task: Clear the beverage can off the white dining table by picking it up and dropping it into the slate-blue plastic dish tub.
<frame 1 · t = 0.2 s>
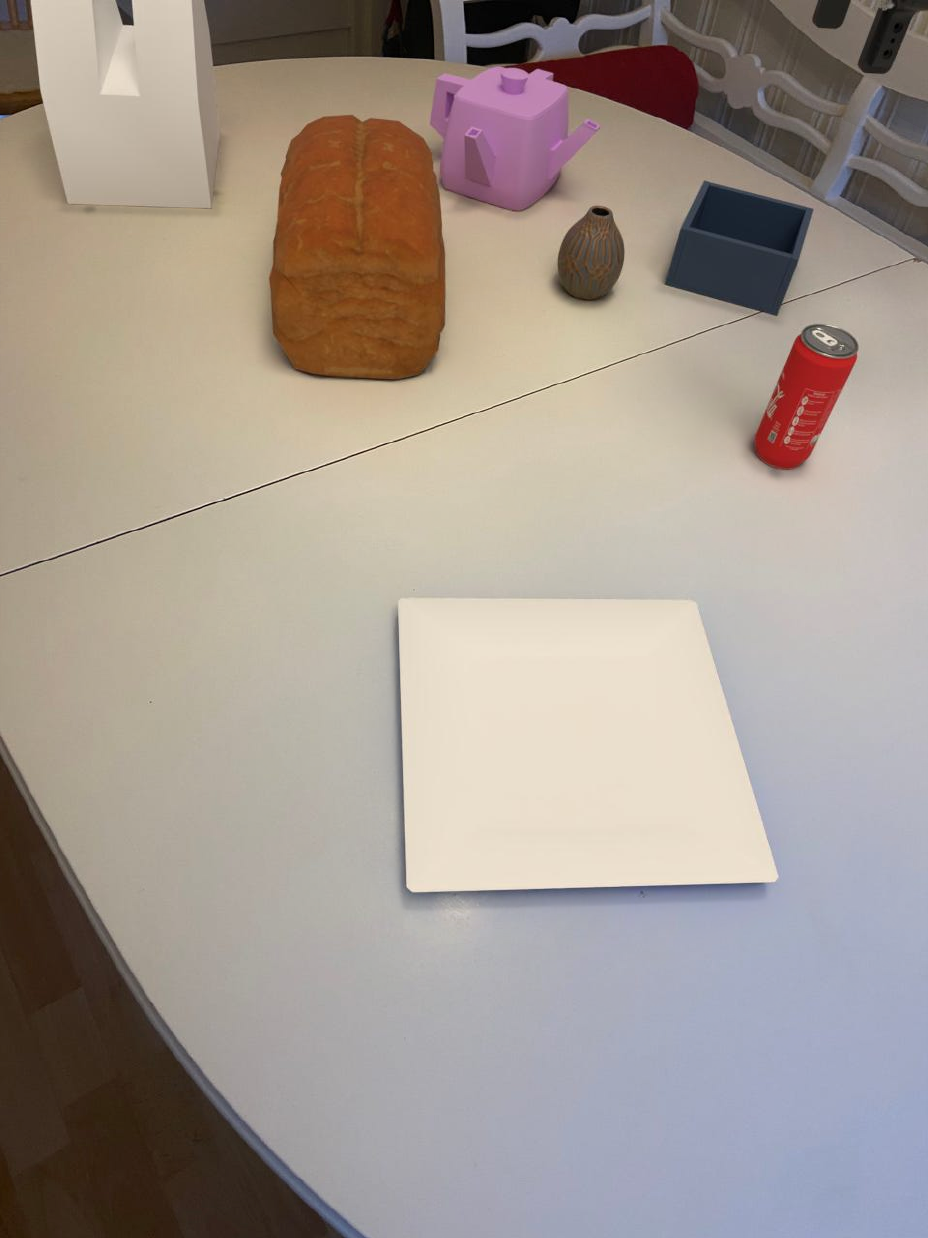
hand: (847, 47, 67), 30 cm above the table, tool pointing down, fingers open, 8 cm apart
vase: (584, 291, 100), on the table
tub: (730, 273, 105), on the table
teakettle: (503, 183, 115), on the table
plate: (565, 742, 63), on the table
beverage can: (778, 455, 85), on the table
white notched block: (149, 167, 109), on the table
bread: (360, 303, 95), on the table
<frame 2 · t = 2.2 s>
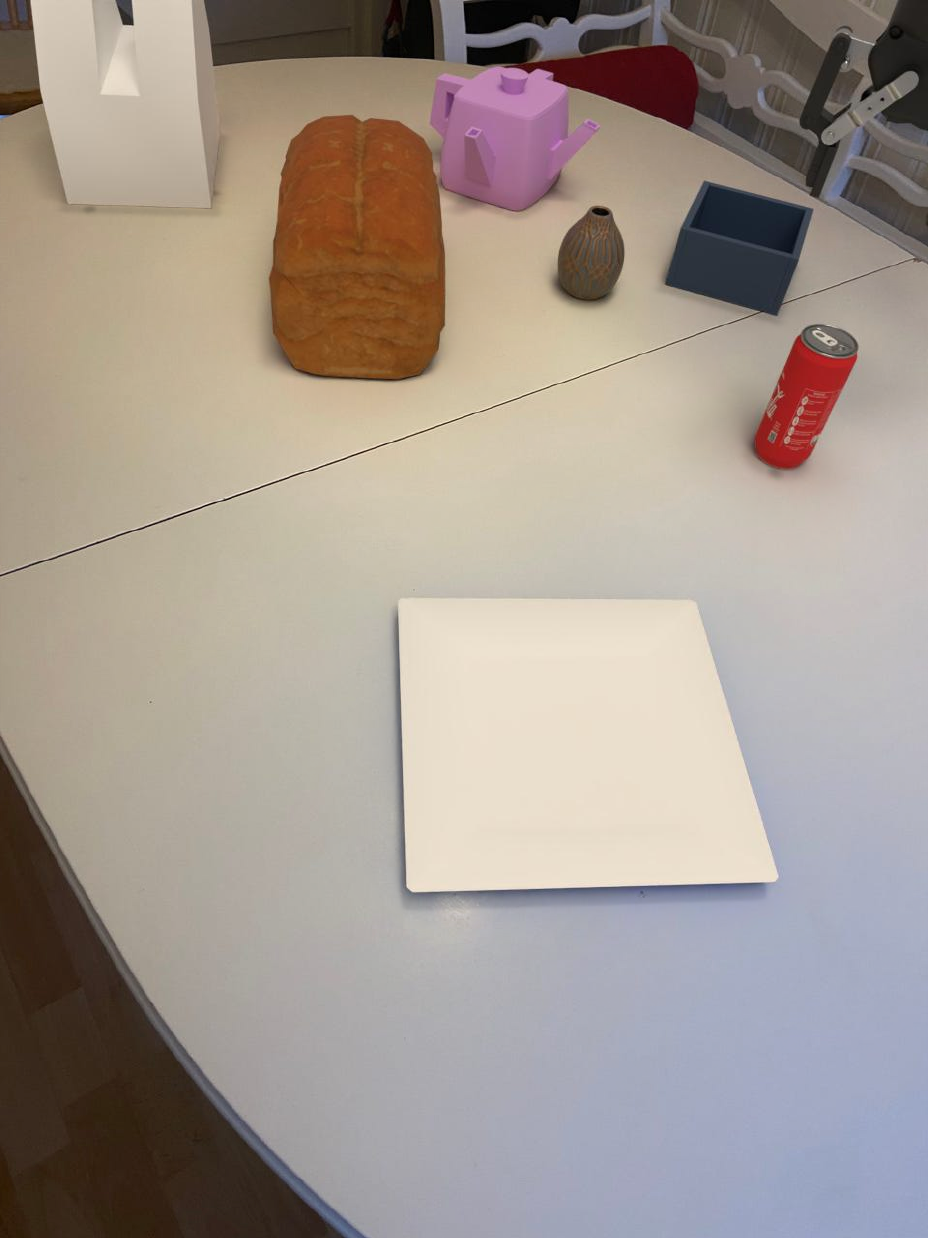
hand: (871, 207, 69), 22 cm above the table, tool pointing down, fingers open, 8 cm apart
nothing on the table moved.
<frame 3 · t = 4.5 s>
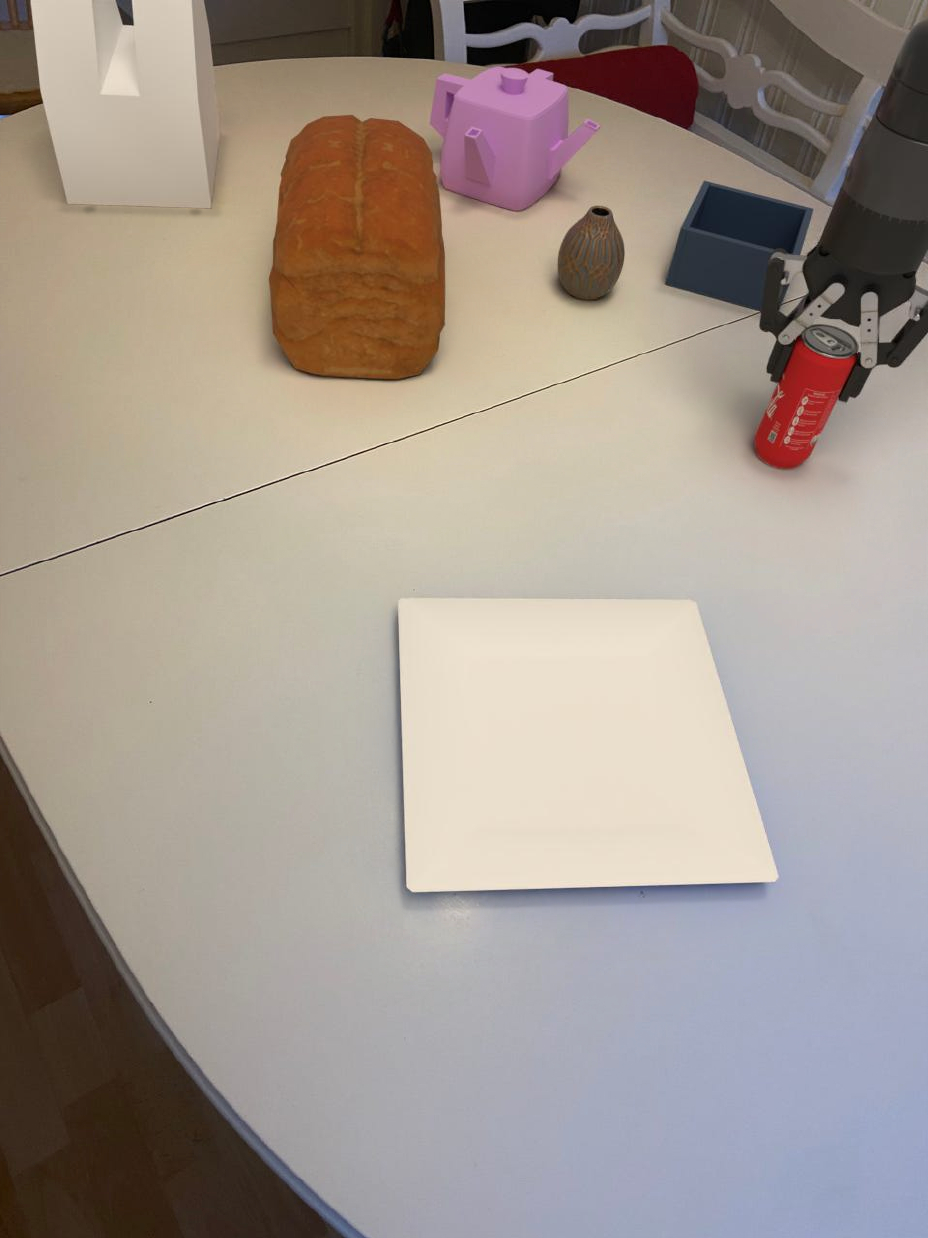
hand: (808, 385, 79), 7 cm above the table, tool pointing down, fingers closed on beverage can, 5 cm apart
beverage can: (778, 455, 85), on the table, touching gripper
everything else where it was.
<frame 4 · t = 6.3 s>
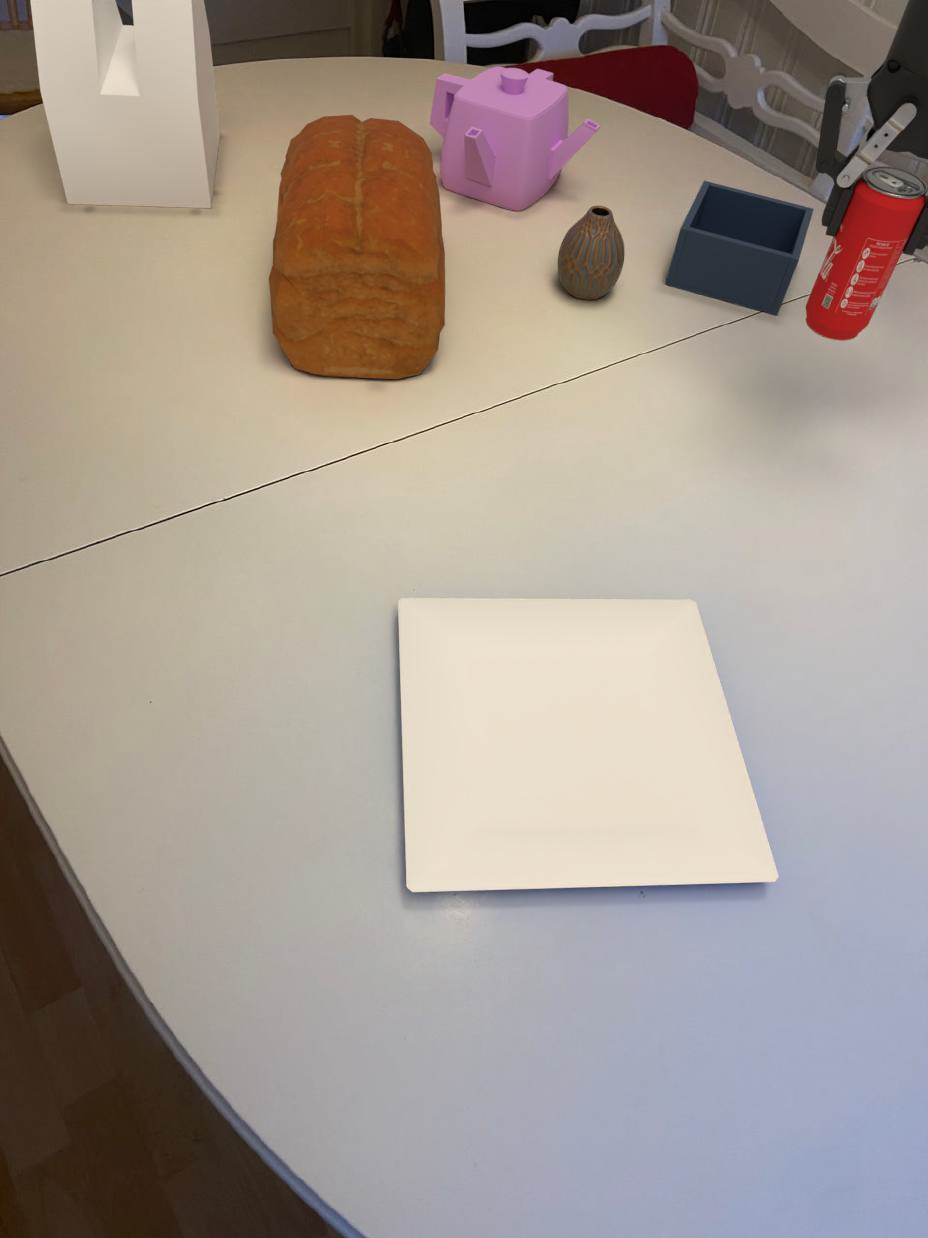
hand: (869, 239, 71), 20 cm above the table, tool pointing down, fingers closed on beverage can, 5 cm apart
beverage can: (831, 327, 77), point 12 cm above the table, touching gripper
everything else where it was.
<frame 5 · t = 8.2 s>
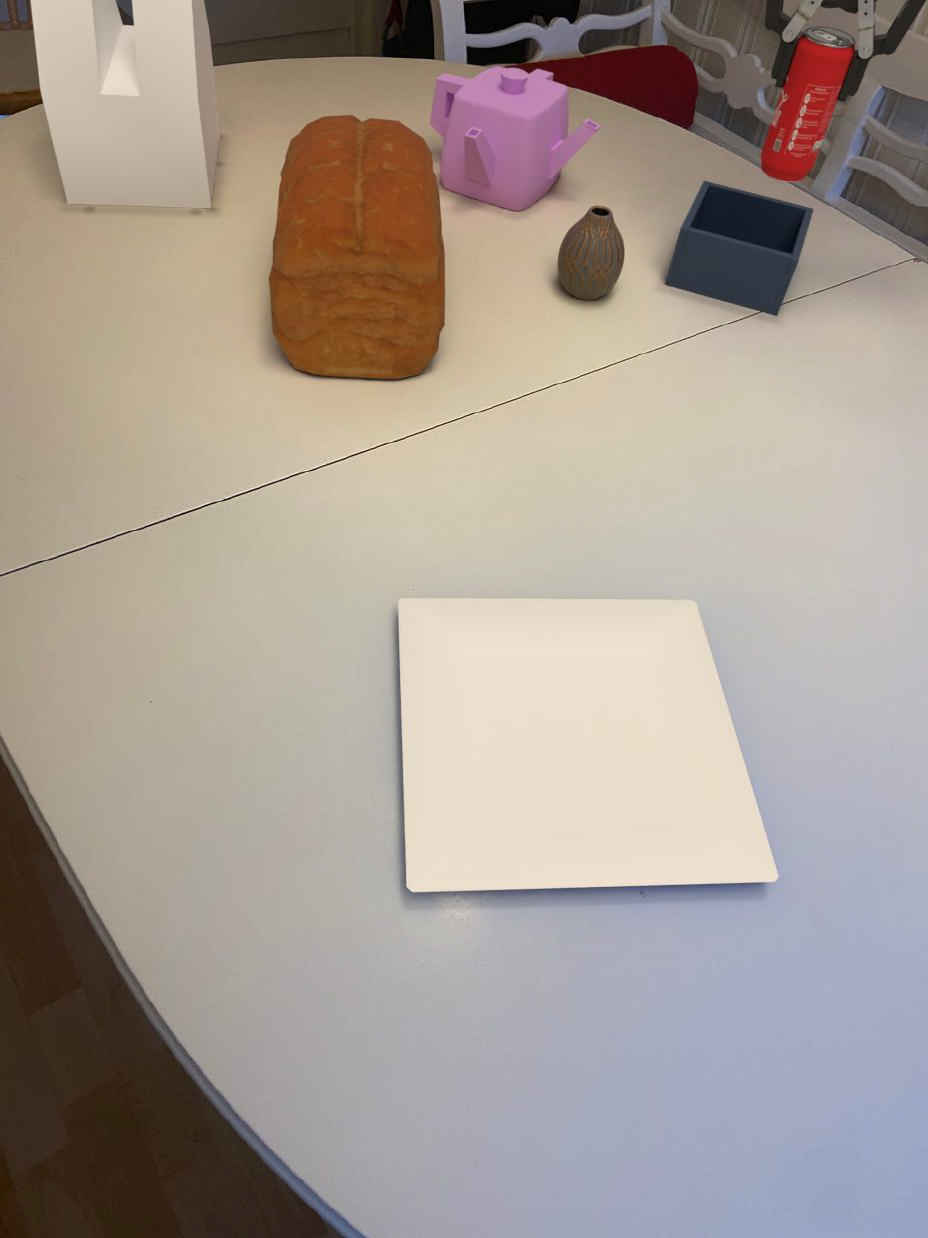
hand: (810, 90, 86), 21 cm above the table, tool pointing down, fingers closed on beverage can, 5 cm apart
beverage can: (782, 173, 92), point 14 cm above the table, touching gripper
everything else where it was.
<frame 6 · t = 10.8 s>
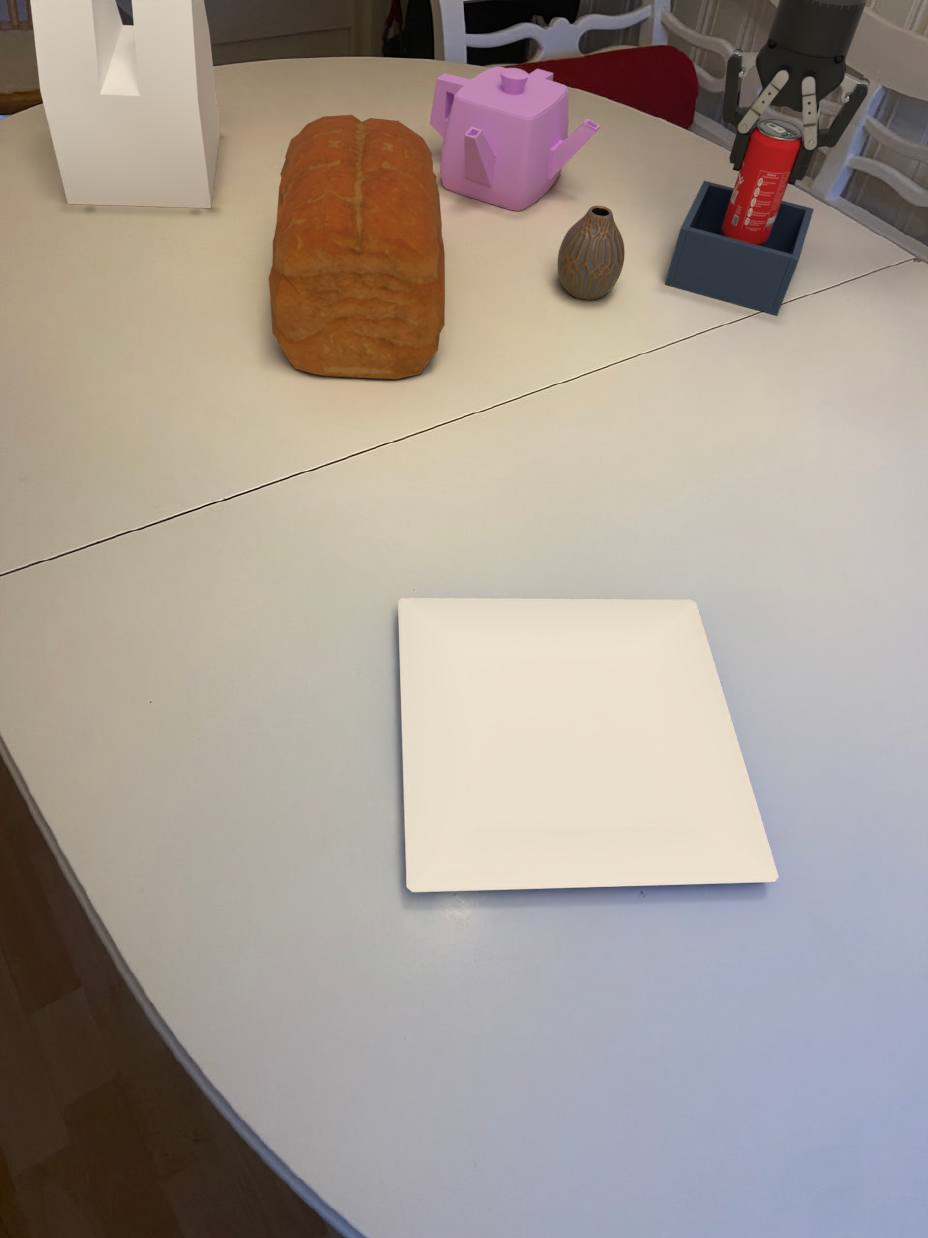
hand: (764, 173, 97), 11 cm above the table, tool pointing down, fingers closed on beverage can, 5 cm apart
beverage can: (741, 243, 103), point 4 cm above the table, touching gripper
everything else where it was.
when the fingers open (8 cm above the table, at t = 12.3 s): beverage can stays where it is, resting on tub.
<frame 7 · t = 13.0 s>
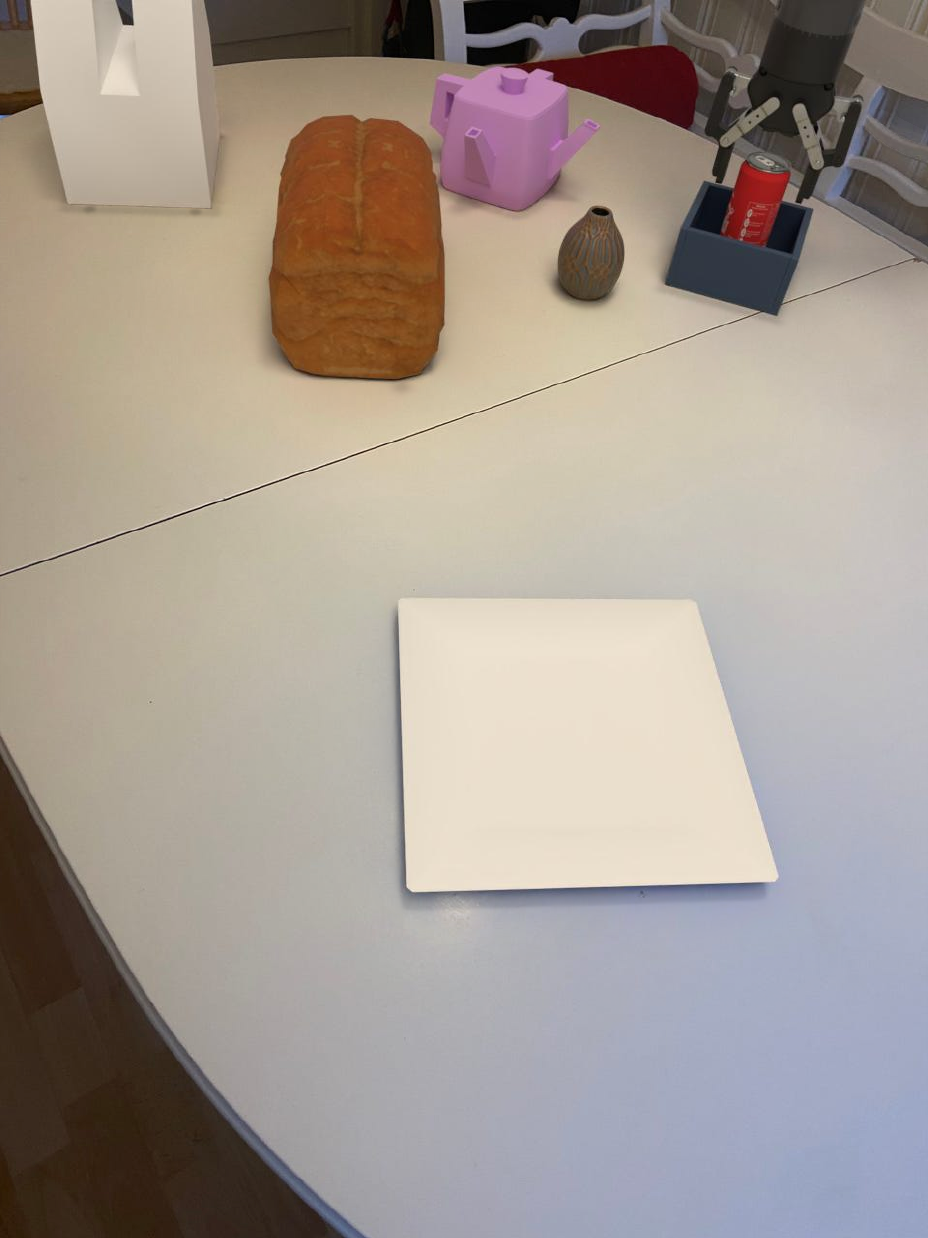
hand: (758, 190, 98), 10 cm above the table, tool pointing down, fingers open, 8 cm apart
beverage can: (732, 270, 105), resting on tub
everything else where it was.
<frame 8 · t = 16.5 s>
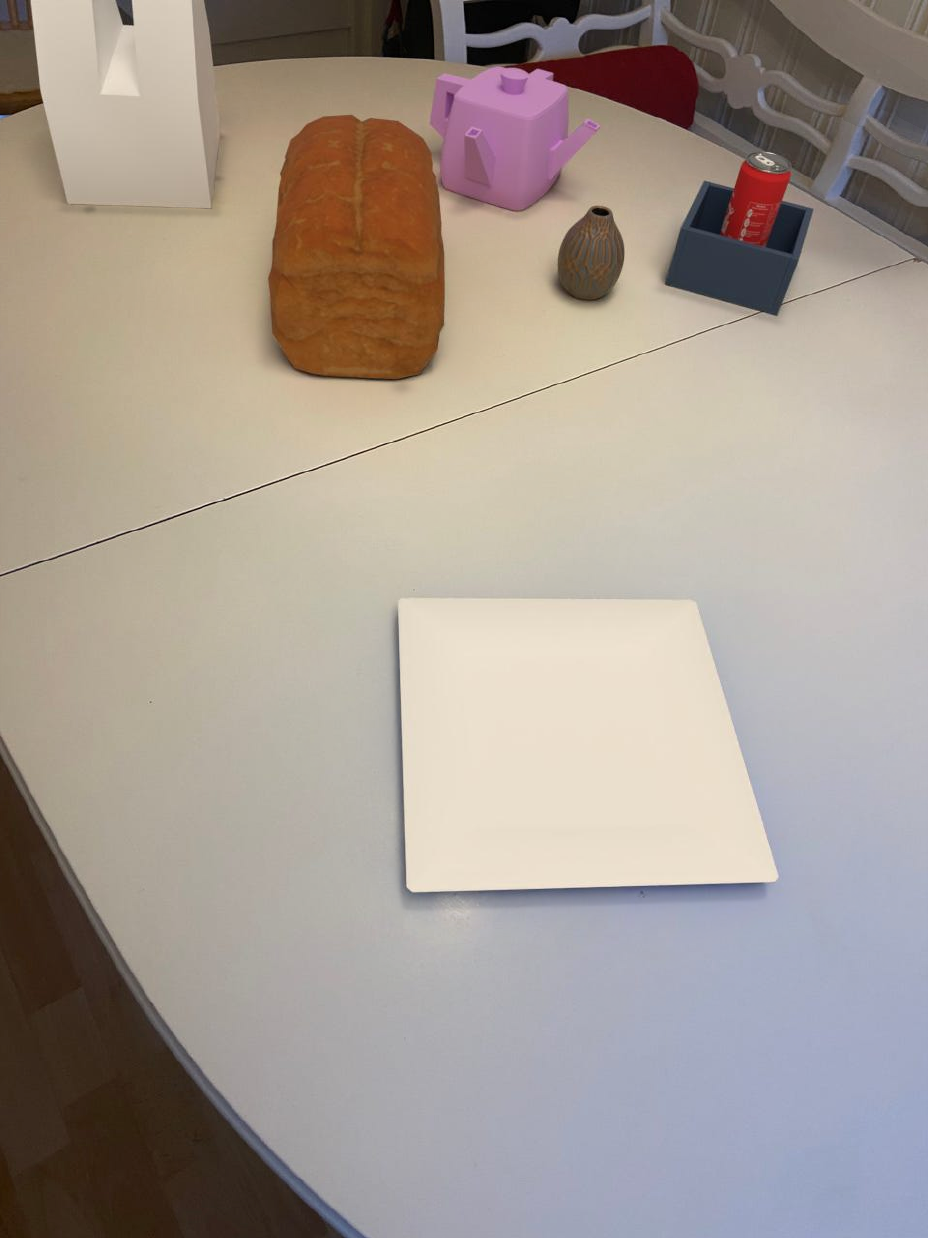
nothing on the table moved.
at the end: beverage can inside the target area in the tub (0.1 cm from its centre), point 0.3 cm above the tub's base; the gripper is holding nothing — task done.
